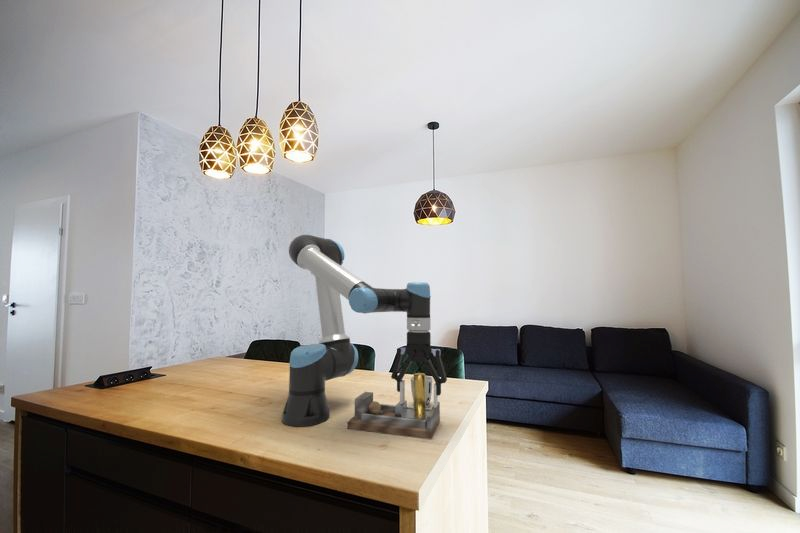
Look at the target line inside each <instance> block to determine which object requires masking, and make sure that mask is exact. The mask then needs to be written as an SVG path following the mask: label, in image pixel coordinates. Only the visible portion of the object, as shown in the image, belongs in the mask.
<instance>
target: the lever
mask: <svg viewBox="0 0 800 533" xmlns="http://www.w3.org/2000/svg"><path fill="white" fill-rule="evenodd" d="M413 376H414V401H413V407H414V410H413V409H407V407H408V406H407V405H408V400H405V402H404V403H403V404H400V401H398V403H397V404H395V405H396V406H395V417H400V418H409V419H418V420H426V426H427V415H428V414H429V412H430V411H426V409H427V408H426V389H425V376H426V373H423V372H416V373H413Z"/></svg>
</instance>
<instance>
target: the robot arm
mask: <svg viewBox="0 0 800 533" xmlns="http://www.w3.org/2000/svg"><path fill="white" fill-rule="evenodd" d="M288 255H289V257H290V259H291V261H292V262H293V263H294V264H295V265H297V267H298V268H301V269H302V270H308V271H309V272H310V274H311V275H313V276H314V278H315V286H316V295H317V302H318V312H319V320H320V327H321V329H320V330H321V339H320V340H319V341H318V343H310V344H305V345H304V344H303V345H300V346H297V347H296V348H293V350H292V351H291V352H290V356H289V357H290V358H289V362H288V365H289V378H288V379H289V380H288V382H289V384H288V397H287V399H286V402H285V406H284V408H283V411H282V415H281V417H282V418H281V421H282V422H281V423H283V424H284V425H285V426H286V425H287V426H290V427H309V426H313V425H317V424H318V425H319V424H320V423H321V424H322V423H323V422H325V421H327V420H328V419H330V414H331V413H330V412H331V410H330V406H329V402H328V398H327V396H326V381H330V380H333V379H337V378H342V377H345V376H347V375H349V374H351V373H353V372H354V370H355V369H356V367H357V366H358V362H359V352H358V349H357V347H356V346H355V345H354V344H353V343H351V340H350V336H348V334H346V331H345V323H344V322H345V321H344V316H343V308H342V300H341V296H342V297H344V298H345V299H346V300H348V305H349V306H350V308H351V310H352V311H354V312H355V313H360V314H370V313H391V312H392V313H393V312H394V313H398V312H399V313H400V312H402V313H405V312H406V330H407V332H406V346H405V347H401V346H400V347H398V348H397V349H396V358H395V361H394V365H393V369H392V371H391V372H392V373H391V377H390V378H391V380H395V381H396V391H397V392H398V393H399V402H400V404H403V403H404V402H405V401H406V400H405V398H406V397H405V395H406V394H405V393H406V392H405V391H406V389H405V388H406V386H405V385H406V383H405V382H406V381H405V380H404V379H403V378H404V376H405V375H406V372H407V371H408V369H409V368H410V366H411V364H412V362H420V363H423V362H424V364H425V365H426V367H427V369H428V371H429V372H430V375H431V377H432V380H434V382H435V383H433V406H434V407H437V405H438V402H439V399H438V398H439V396H441V394H442V384H445V383H447V381H448V377H447V374H446V372H445V367H444V364H443V360H442V357H441V356H442V355H441V354H442V351H441V348H435V349H434V348H432V346H431V343H432V342H431V341H432V340H431V338H432V336H431V332H430V330H431V297H432V296H431V287H430V284H429V283H428V282H419V281H417V282H416V281H415V282H414V281H413V282H408V283H406V288H403V289H402V288H401V289H400V288H380V287H372V285H370V284H368V283H367V282H365V281H364V280H362V279H361V278H359V277H358V276H356V275H355V274H353V273H352V272H351V271H349V270H348V269H346V268H345V267H343V263H344V260H345V251H344V248H343V246H342V245H341V244H340V243H339V242H337V241H335V240H333V239H331V238H325V237H319V236H315V235H312V234H311V235H310V234H302V235H299V236H297V237H295V238H294V239H293V240H292V241H290V244H289V246H288ZM405 353H406V354H407V355H408V358H407V359H406V361H405V364H404V365H403V366H402V368H401V370H400V367H401V364H402V359H403V355H404V354H405ZM431 354H432V355H433V357H435V363H436V365H437V369H438V372H437V370H436V369H435V367H434V364H433V362H432V360H431V359H430V355H431ZM399 370H400V372H399ZM438 373H439V374H438Z"/></svg>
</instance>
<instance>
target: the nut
mask: <svg viewBox="0 0 800 533" xmlns="http://www.w3.org/2000/svg"><path fill="white" fill-rule="evenodd" d="M380 404H381V403H380V402H378V401H374V400H373V402H372V403H370V405H369V412H370V413H371V414H373V415H377V414H378V413H379V412H380V411H381V405H380Z"/></svg>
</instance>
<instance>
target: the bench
mask: <svg viewBox="0 0 800 533" xmlns="http://www.w3.org/2000/svg"><path fill="white" fill-rule="evenodd" d="M372 402H374V392H372V391H371V392H370V391H364V392H362V393H361V394H360V395H358V396H356V397H355V398H354V416H353V417H352V418H350V419H349V420H347V425H346V426H347V427H346V429H348V430H356V431H365V432H371V433H380V434H386V435H394V436H403V437H411V438H416V439H425V440H432V438H433V436H434V435H435V432H436V431H437V429H438V426H439V424H440V422H441V416H440V415H441V414H440V413H441V411H440V406H441V403H440V401H438V405H437V407H434V405H433V406H432V407H431V408H426V411H430V412H429V414H428V415H427V426H426V420H418V419H409V418H400V417H395V406H396V405H397V404H395V405H393V404H384V403H379V404H380V405H381V411H380V412H379V413H378V414H377V415H373V414H371V413H370V412H369V405H370V403H372ZM407 409H413V410H414V406H407Z"/></svg>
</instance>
